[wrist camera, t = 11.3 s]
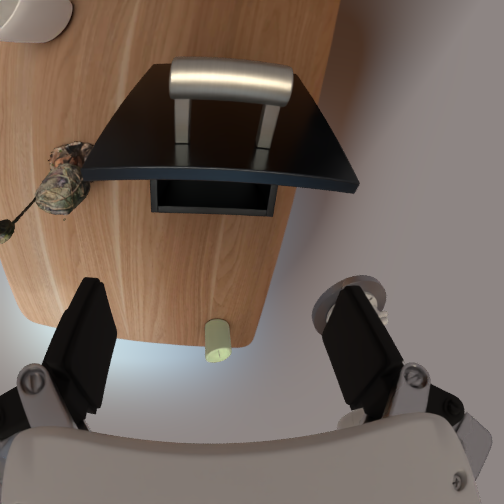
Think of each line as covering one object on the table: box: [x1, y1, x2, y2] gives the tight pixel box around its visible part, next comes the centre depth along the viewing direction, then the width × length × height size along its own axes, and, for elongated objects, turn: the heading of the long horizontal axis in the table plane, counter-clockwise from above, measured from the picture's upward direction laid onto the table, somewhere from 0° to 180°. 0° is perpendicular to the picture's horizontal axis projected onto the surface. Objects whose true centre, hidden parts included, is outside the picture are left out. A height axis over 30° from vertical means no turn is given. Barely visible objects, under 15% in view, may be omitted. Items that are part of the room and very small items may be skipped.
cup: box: [0, 0, 72, 43], centre depth 13 cm, size 8×8×14 cm
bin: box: [150, 180, 278, 217], centre depth 30 cm, size 16×14×11 cm
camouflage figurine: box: [0, 141, 93, 244], centre depth 25 cm, size 8×11×20 cm
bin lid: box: [80, 57, 360, 194], centre depth 15 cm, size 16×14×5 cm
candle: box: [205, 319, 231, 363], centre depth 52 cm, size 5×5×8 cm
